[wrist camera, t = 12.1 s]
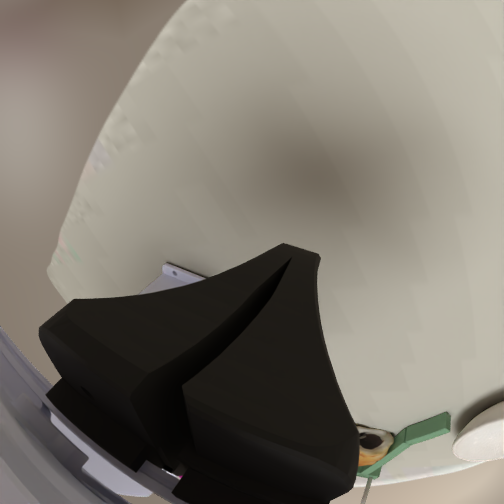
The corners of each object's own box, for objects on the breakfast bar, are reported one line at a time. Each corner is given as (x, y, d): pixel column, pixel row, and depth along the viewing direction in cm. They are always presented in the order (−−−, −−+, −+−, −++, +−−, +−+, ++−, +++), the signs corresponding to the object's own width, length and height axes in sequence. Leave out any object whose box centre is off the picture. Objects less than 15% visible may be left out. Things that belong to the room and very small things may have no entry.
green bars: (260, 433, 37) (230, 488, 29) (283, 364, 27) (238, 451, 19) (380, 468, 31) (363, 526, 23) (453, 413, 21) (446, 500, 13)
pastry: (369, 457, 31) (362, 480, 28) (325, 446, 33) (316, 469, 30) (398, 430, 26) (393, 458, 23) (346, 417, 28) (337, 446, 25)
